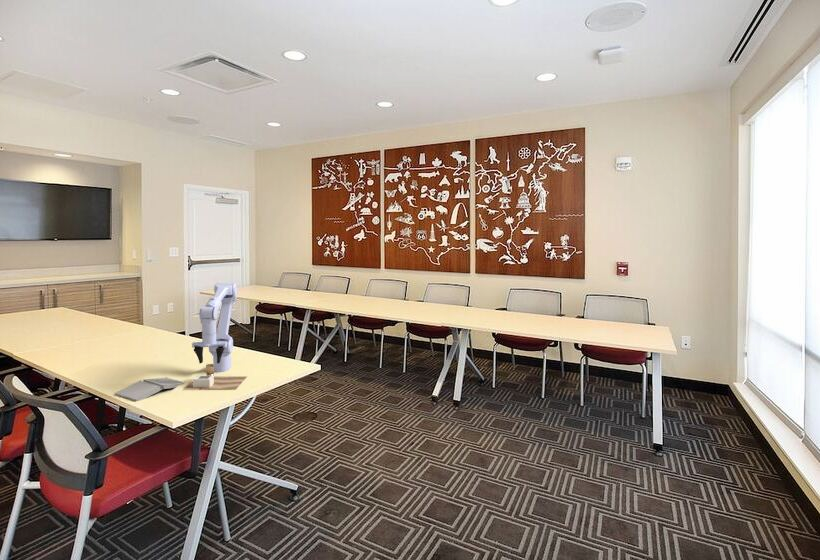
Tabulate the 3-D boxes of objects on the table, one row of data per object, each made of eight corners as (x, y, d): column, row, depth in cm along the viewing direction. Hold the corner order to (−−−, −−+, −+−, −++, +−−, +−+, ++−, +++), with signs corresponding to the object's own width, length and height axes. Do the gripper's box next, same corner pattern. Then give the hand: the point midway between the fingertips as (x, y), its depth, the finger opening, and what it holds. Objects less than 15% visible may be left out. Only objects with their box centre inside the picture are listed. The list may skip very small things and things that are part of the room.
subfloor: (198, 379, 208) (198, 376, 208) (247, 378, 209) (247, 376, 209) (182, 392, 190) (182, 389, 190) (235, 392, 192) (235, 389, 191)
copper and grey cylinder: (208, 378, 205) (207, 363, 204) (215, 378, 205) (214, 363, 204) (205, 381, 201) (204, 365, 201) (212, 381, 202) (212, 366, 201)
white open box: (197, 383, 198) (197, 375, 198) (213, 383, 199) (213, 375, 198) (193, 387, 193) (192, 378, 193) (209, 387, 194) (209, 378, 194)
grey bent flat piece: (136, 403, 179) (135, 394, 179) (114, 396, 186) (113, 387, 186) (187, 386, 199) (187, 378, 199) (166, 380, 206) (166, 372, 206)
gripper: (188, 335, 196) (189, 365, 198) (222, 335, 197) (223, 365, 199) (195, 331, 203) (195, 360, 205) (228, 331, 204) (228, 360, 206)
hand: (209, 362), depth 202 cm, fingers open, 7 cm apart
